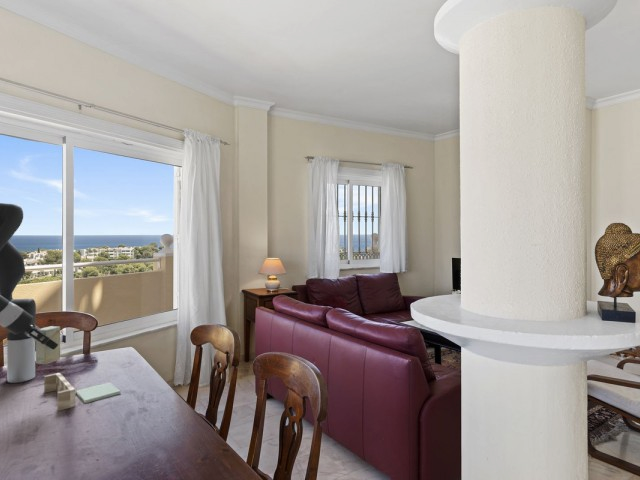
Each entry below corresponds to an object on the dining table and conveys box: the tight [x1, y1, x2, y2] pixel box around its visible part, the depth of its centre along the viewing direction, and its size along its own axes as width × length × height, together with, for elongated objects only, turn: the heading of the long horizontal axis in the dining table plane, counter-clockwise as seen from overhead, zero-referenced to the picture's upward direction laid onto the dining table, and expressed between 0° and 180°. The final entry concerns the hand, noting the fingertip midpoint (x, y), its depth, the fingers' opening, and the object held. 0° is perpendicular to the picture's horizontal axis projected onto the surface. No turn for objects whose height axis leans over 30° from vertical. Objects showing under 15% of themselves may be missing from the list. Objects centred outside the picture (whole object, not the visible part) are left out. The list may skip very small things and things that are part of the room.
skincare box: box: [35, 325, 61, 365], centre depth 141 cm, size 6×4×12 cm
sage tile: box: [75, 381, 121, 404], centre depth 148 cm, size 12×12×1 cm
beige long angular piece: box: [43, 372, 76, 412], centre depth 143 cm, size 22×5×6 cm, turn 45°
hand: (53, 345), depth 142 cm, fingers closed on skincare box, 6 cm apart
